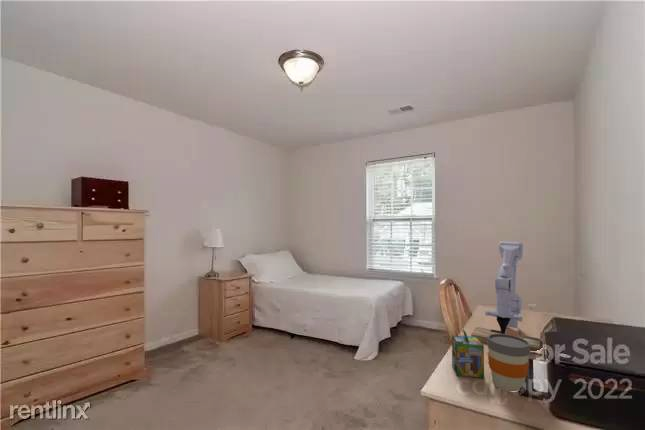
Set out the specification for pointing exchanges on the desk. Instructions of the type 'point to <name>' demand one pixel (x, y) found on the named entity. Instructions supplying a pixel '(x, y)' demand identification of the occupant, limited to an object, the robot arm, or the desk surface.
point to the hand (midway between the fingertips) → (503, 334)
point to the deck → (485, 332)
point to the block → (512, 331)
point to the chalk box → (467, 356)
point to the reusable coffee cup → (508, 361)
